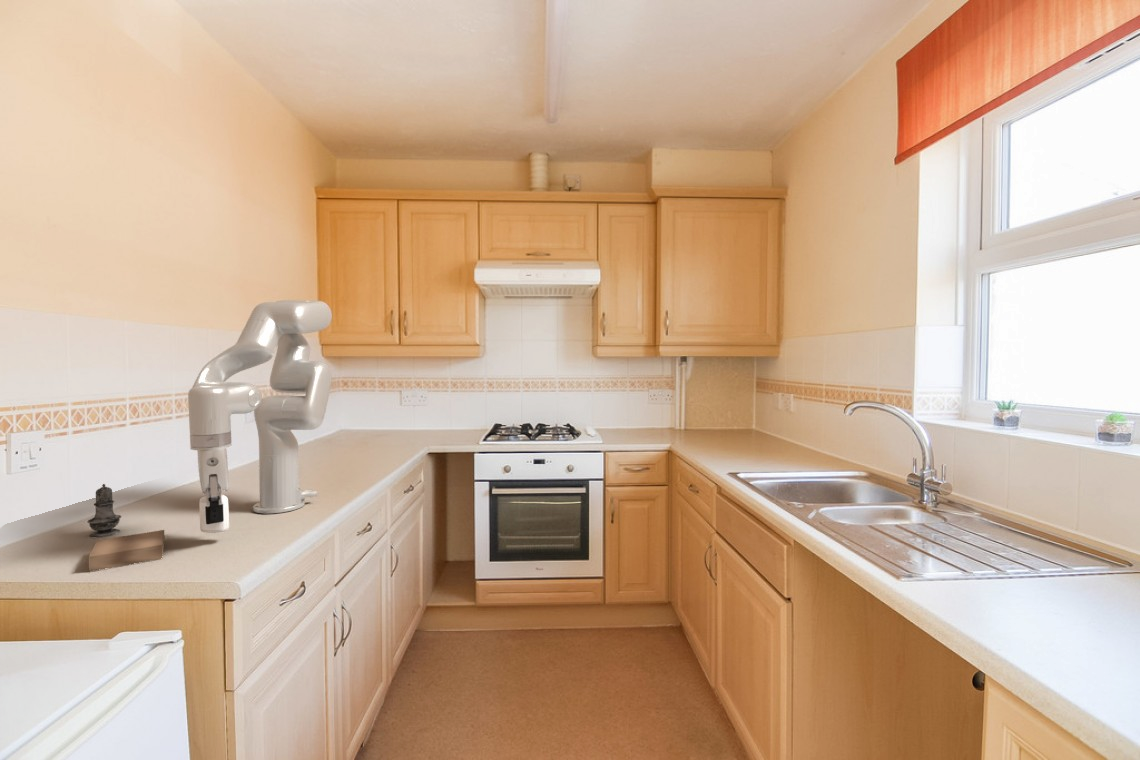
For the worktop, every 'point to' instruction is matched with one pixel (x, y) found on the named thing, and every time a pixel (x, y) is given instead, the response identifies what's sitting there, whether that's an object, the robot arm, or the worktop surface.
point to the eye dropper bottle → (215, 526)
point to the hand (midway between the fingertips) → (214, 518)
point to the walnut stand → (127, 550)
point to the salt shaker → (104, 514)
